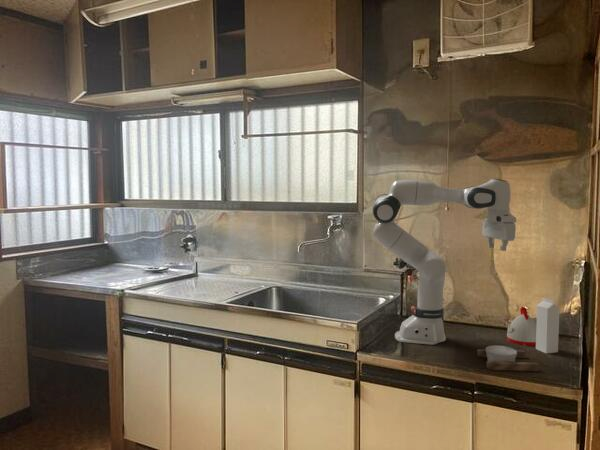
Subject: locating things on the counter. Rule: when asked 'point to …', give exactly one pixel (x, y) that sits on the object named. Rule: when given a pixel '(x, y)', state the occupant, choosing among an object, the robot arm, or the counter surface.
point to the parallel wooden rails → (509, 363)
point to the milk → (547, 326)
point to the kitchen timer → (522, 330)
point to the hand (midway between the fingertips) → (497, 249)
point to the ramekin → (501, 353)
